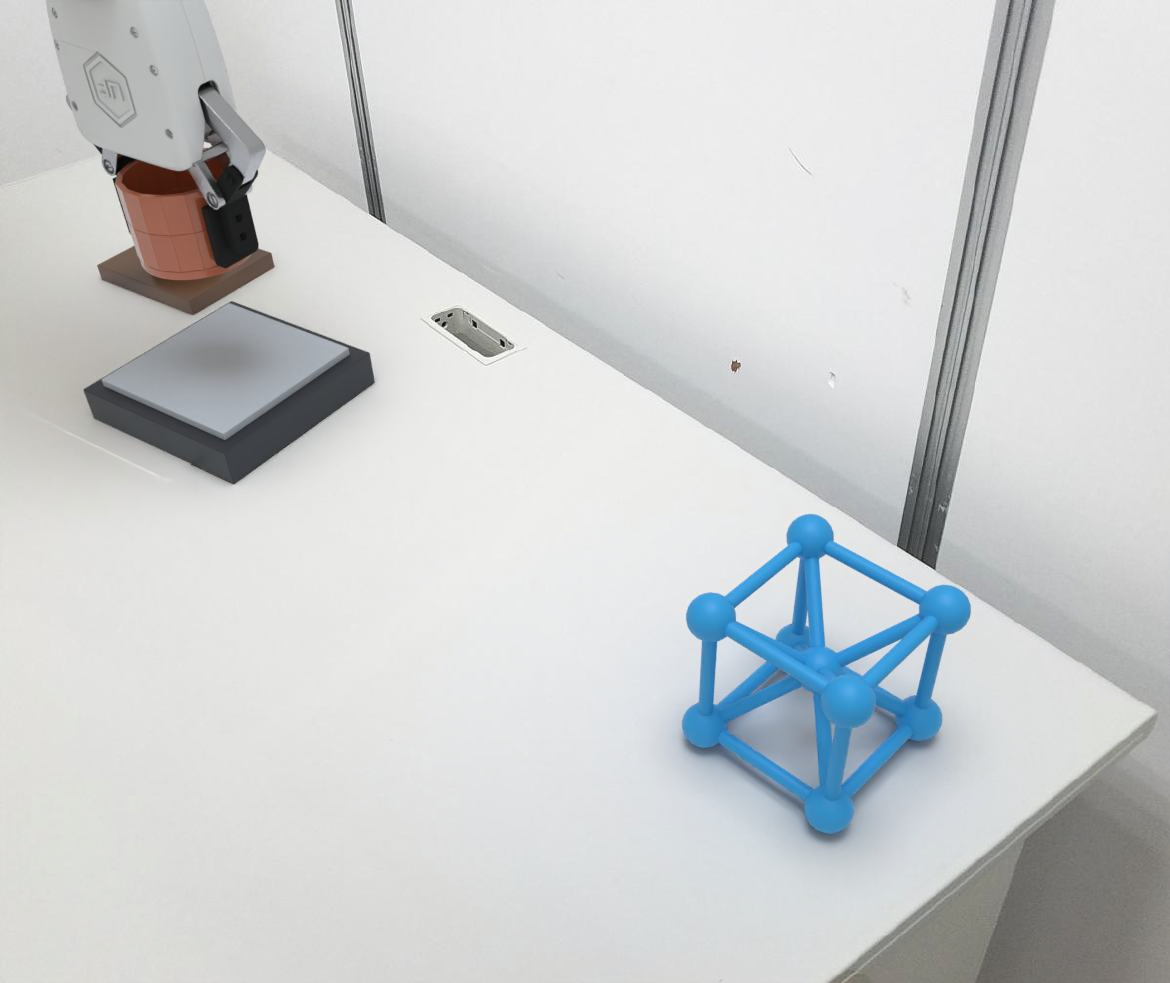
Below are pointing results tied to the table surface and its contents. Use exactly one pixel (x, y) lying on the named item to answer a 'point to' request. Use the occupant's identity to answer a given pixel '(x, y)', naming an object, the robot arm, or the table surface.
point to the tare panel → (182, 292)
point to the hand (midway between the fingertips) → (194, 241)
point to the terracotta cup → (168, 220)
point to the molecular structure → (822, 670)
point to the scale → (230, 389)
